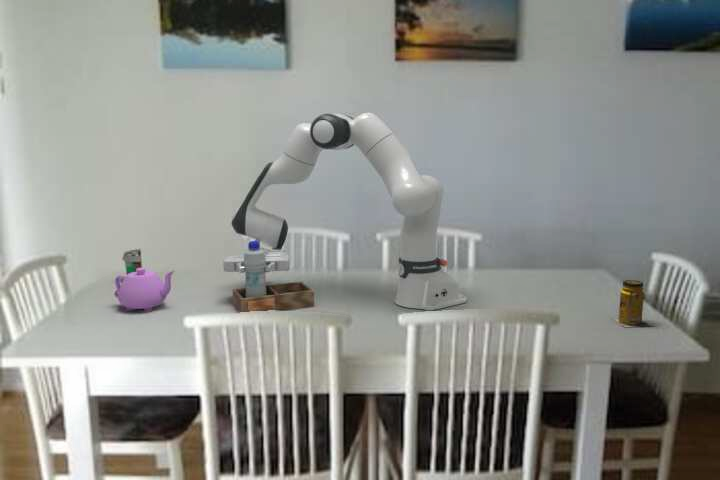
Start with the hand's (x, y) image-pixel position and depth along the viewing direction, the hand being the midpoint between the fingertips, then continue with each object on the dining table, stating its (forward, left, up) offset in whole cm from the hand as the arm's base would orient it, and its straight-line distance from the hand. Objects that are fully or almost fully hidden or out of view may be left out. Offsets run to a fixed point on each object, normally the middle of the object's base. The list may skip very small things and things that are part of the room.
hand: (254, 269), depth 197 cm
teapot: (+30, -16, -12) cm, 36 cm away
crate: (-6, -1, -12) cm, 13 cm away
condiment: (-94, +56, -12) cm, 110 cm away
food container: (+31, -50, -12) cm, 60 cm away
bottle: (0, -1, -11) cm, 12 cm away
